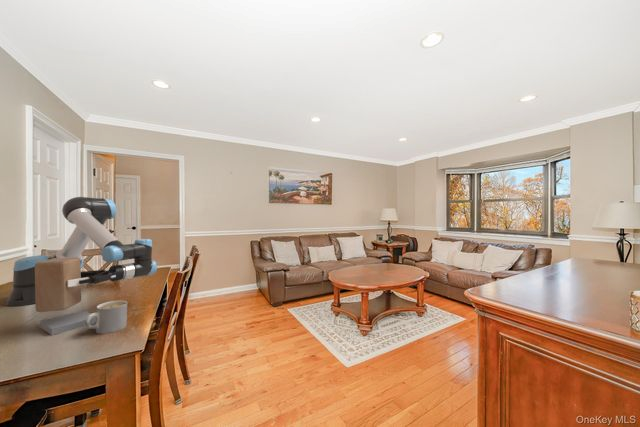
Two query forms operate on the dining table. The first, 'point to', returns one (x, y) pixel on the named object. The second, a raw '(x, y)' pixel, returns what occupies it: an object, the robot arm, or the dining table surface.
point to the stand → (65, 322)
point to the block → (57, 284)
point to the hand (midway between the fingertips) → (61, 281)
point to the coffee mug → (109, 317)
